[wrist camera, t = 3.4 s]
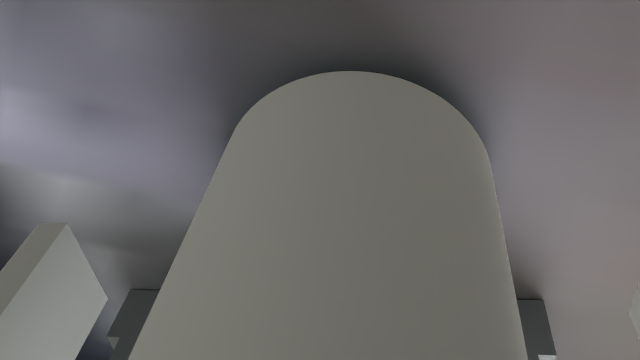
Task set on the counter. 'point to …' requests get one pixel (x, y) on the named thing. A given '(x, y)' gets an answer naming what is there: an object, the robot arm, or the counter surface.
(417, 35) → the counter surface
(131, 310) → the grey tray
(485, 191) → the can
